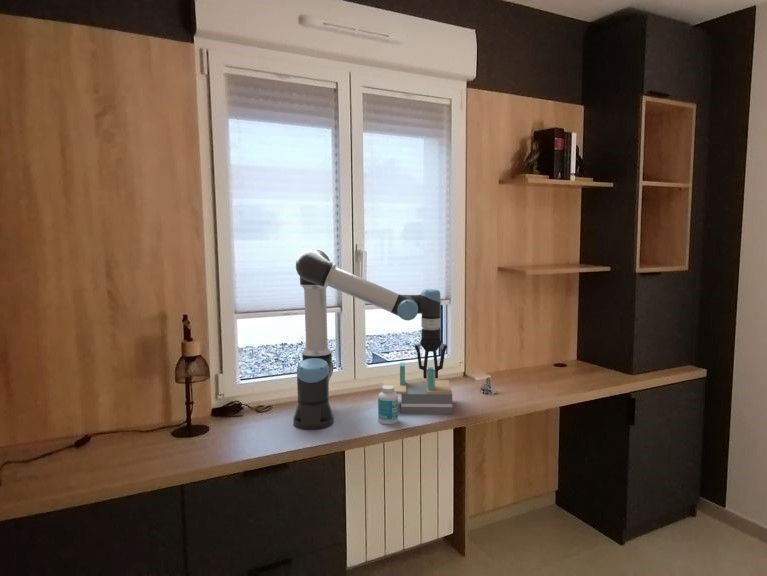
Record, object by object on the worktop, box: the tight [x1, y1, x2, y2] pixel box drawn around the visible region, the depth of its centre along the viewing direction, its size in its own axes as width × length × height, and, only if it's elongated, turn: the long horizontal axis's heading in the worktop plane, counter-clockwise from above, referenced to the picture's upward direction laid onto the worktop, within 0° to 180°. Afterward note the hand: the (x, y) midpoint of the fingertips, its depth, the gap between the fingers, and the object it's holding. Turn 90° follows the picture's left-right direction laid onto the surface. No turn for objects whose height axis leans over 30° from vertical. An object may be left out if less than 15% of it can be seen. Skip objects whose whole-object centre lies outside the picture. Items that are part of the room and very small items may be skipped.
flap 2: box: [426, 366, 453, 395], centre depth 207 cm, size 10×16×9 cm, turn 178°
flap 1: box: [382, 362, 407, 395], centre depth 207 cm, size 10×16×9 cm, turn 178°
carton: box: [400, 382, 453, 415], centre depth 208 cm, size 20×16×8 cm
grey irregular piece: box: [479, 376, 498, 396], centre depth 226 cm, size 9×9×8 cm
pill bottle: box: [377, 385, 399, 426], centre depth 191 cm, size 8×7×14 cm
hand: (430, 386), depth 203 cm, fingers closed on flap 2, 2 cm apart
